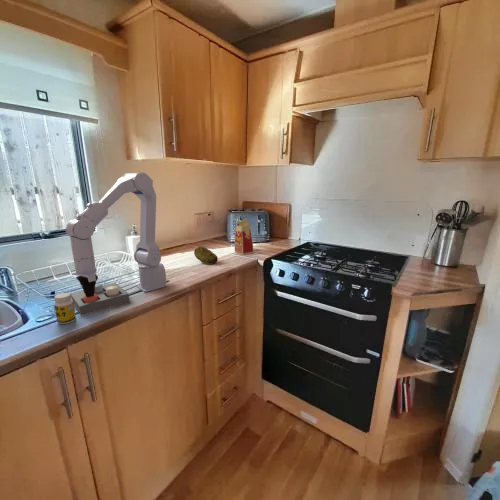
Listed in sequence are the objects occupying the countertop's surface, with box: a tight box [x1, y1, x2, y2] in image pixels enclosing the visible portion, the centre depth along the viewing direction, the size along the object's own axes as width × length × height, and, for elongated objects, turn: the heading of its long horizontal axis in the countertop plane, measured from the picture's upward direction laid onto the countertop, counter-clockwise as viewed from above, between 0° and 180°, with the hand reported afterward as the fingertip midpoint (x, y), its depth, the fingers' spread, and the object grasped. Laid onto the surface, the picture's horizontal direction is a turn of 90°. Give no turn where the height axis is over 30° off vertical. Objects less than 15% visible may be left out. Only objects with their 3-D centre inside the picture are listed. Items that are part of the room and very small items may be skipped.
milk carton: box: [234, 218, 254, 255], centre depth 159 cm, size 9×9×20 cm
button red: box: [83, 294, 98, 303], centre depth 92 cm, size 4×4×3 cm
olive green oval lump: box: [193, 246, 219, 265], centre depth 141 cm, size 8×13×8 cm, turn 43°
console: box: [69, 282, 130, 316], centre depth 96 cm, size 15×14×3 cm
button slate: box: [94, 283, 104, 294], centre depth 98 cm, size 4×4×3 cm
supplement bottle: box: [53, 292, 77, 325], centre depth 82 cm, size 5×5×8 cm
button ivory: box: [106, 286, 119, 297], centre depth 96 cm, size 4×4×3 cm
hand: (90, 296), depth 91 cm, fingers closed, pressing on button red
